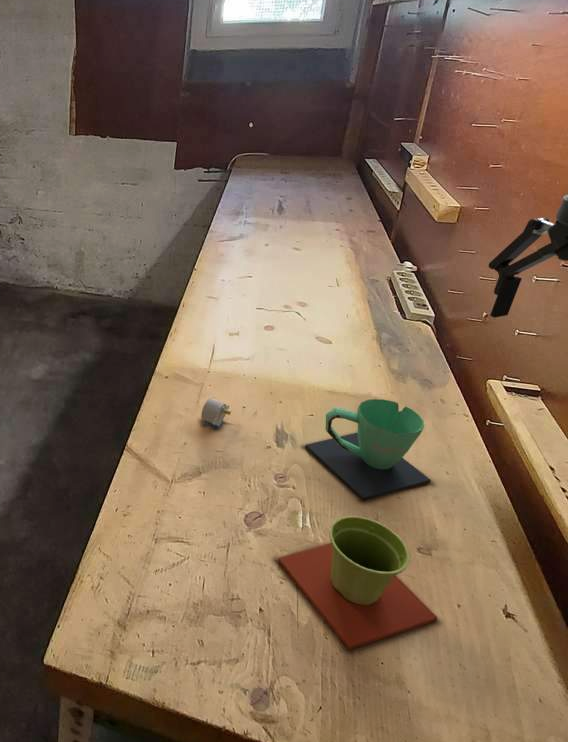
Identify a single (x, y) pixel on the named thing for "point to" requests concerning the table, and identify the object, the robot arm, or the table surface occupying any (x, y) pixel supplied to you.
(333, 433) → the mug
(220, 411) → the electric motor
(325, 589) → the terracotta mat
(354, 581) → the plant pot
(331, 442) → the charcoal mat
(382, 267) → the table surface
